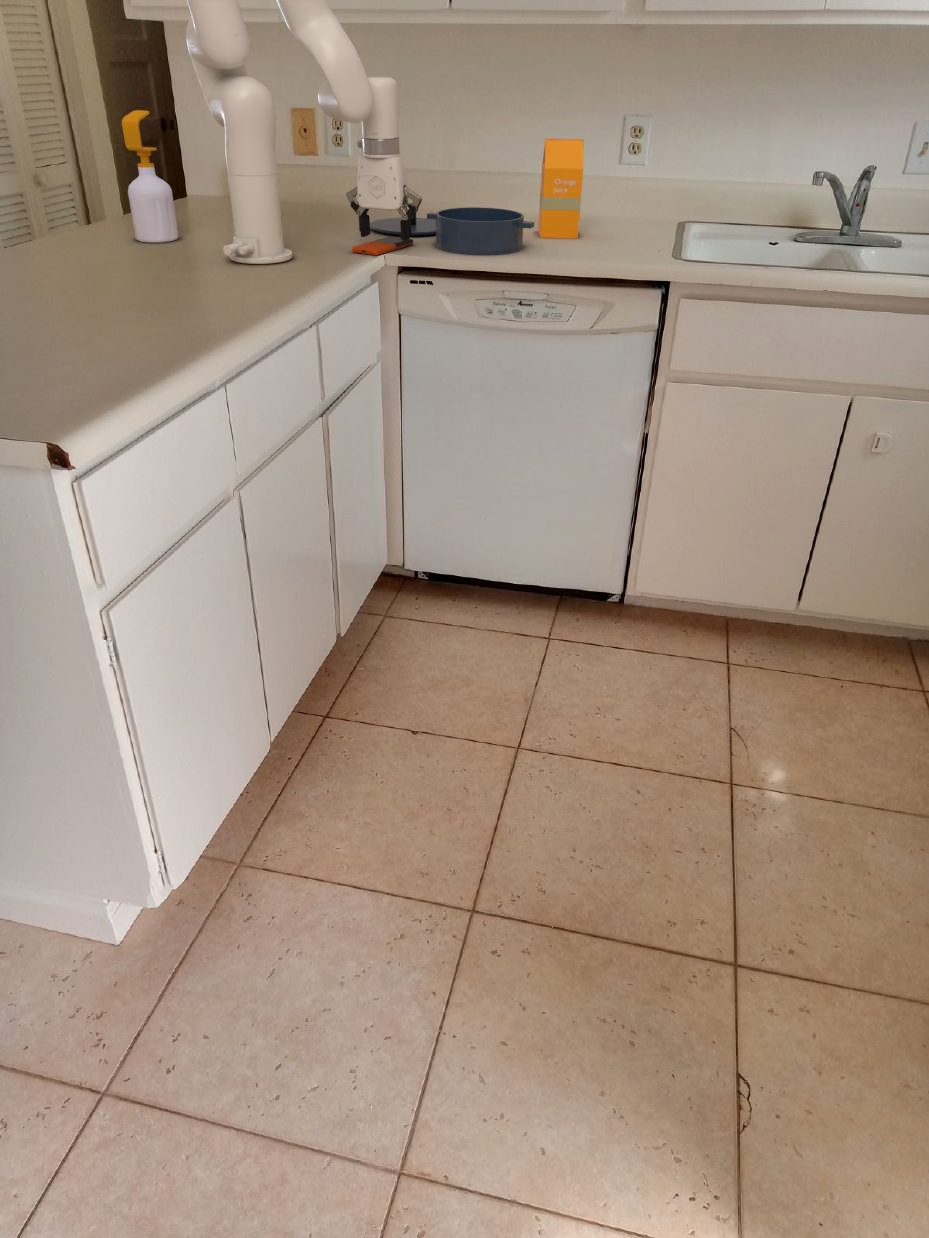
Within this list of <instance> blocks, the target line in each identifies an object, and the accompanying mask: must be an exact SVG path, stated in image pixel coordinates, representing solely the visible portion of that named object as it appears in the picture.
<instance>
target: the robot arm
mask: <svg viewBox="0 0 929 1238" xmlns="http://www.w3.org/2000/svg"><path fill="white" fill-rule="evenodd" d="M275 1H276V3H277V6H278V8H279V10H280V12H281V14H282V17H283V20H284V21H285V24H286V26H287V29H289V31H290V33H291V34H292V35H293V37H294V38H296V40H297V41H298V42H299V43H300V44H301V45H302V46H304V47H305V48H306V49H307V51H309V53H310V54H311V55H312V57H314V59H315V61H316V62H317V63H318V65H319V66H320V69H321V70H322V73H323V74H324V76H325V78H326V79H325V80H324V81H323V82H322V83H321V85H320V86H319V88H318V92H317V101H318V104H319V107H320V109H321V111H322V112H323V113H324V114H325V115H326V116H327V117H328V118H330V119H332V120H336V121H341V122H346V123H350V124H359V123H361V140H357V147H358V149H361V150H362V151H361V152H362V154H360V155H359V156H358V164H357V175H356V176H357V181H356V186H355V187H354V188H352V189H351V190H348V191H347V192H346V194H345V196H346V198H347V200H348V202H349V203H350V207H351V209H352V210H353V211H354V213H355V216H356V217H357V218H358V230H359V232H360V237H361V238H365V237H367V236H370V235H371V228H370V223H371V217H370V215H369V214H368V212H369V210H376V211H377V210H379V211H397V212H398V214H399V215H400V218H403V220H401V221H400V226H401V236H400V238H401V240H403V241H405V240H407V239H411V237H412V236H411V218H413V216H414V215H415V213H416V214H417V213H418V211H419V207H420V206H421V204H422V201H423V197H422V196H421V195H419V194H418V193H416V192H415V191H413V190H412V189H411V188H409V184H408V176H407V171H406V170H407V168H406V165H405V160H404V156H403V155H402V154H401V144H400V139H401V138H400V116H399V88H398V82H397V81H396V79H394V78H393V77H390V76H389V77H388V76H368V75H367V72H366V70H365V68H364V64H363V63H362V60H361V58H360V56H359V54H358V51H357V50H356V48H355V46H354V44H353V42H352V41H351V39H350V37H349V35H348V34H347V33H346V31H345V30H344V28H343V26H342V24H341V22H340V21H339V19H338V18H337V17H336V15H335V14H334V12H333V11H332V8H331V7H330V4H329V2H328V0H275ZM186 2H187V7H188V9H189V13H190V18H189V20H188V22H187V25H186V28H185V29H186V30H185V31H186V32H185V38H186V45H187V49H188V53H189V56H190V59H191V63H192V65H193V68H194V72H195V74H196V76H197V79H198V83H199V85H200V88H201V91H202V94H203V97H204V99H205V102H206V105H207V107H208V110H209V112H210V114H211V115H212V117H213V119H214V120H215V121H216V122H217V123H218V124H219V125H220V126H221V127H223V128H224V149H225V150H224V151H225V164H226V165H225V166H226V172H227V179H228V180H227V181H228V189H229V199H230V207H231V215H232V225H233V234H234V236H232V243H229V244H225V245H224V246H223V248H222V252H223V254H224V255H225V256H228V257H229V260H230V261H233V262H236V263H240V264H247V265H248V264H251V265H267V264H277V263H284V262H287V261H290V260H292V258H293V251H292V250H291V249H288V248H285V245H284V233H283V220H282V208H281V197H280V196H281V195H280V183H279V175H278V161H277V145H276V141H277V140H276V139H277V138H276V136H277V111H276V106H275V102H274V99H273V96H272V94H271V92H270V91H269V89H268V88H267V86H265V85H264V84H263V83H262V82H261V81H260V80H258V79H256V78H253V77H251V76H249V75H248V72H247V68H246V66H245V62H246V61H247V59H248V58H249V55H250V52H251V40H250V35H249V32H248V28H247V26H246V23H245V20H244V16H243V13H242V10H241V7H240V4H239V1H238V0H186ZM409 199H410V200H411V201H412V202H411V203H412V206H411V207H410V209H409V207H408V206H407V205H408V203H409Z"/></svg>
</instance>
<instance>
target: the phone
mask: <svg viewBox="0 0 929 1238" xmlns="http://www.w3.org/2000/svg"><path fill="white" fill-rule="evenodd" d="M413 244H414V239H412V238H410V239H407V240H405V241H403V240H401V236H400V237H398V236H393V235H392V236H391V235H390V236H386V237H382V238H378V239H374V240H372V241H368V242H365V243H361V244H358V245H353V246H352V248H351V250H352V253H354V254H355V253H356V254H363V255H369V256H380V255H383V254H387V253H389V252H392V251H396V250H399V249H402V248H406V247H410V246H412V245H413Z"/></svg>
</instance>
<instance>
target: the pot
mask: <svg viewBox="0 0 929 1238" xmlns="http://www.w3.org/2000/svg"><path fill="white" fill-rule="evenodd" d="M426 218H427V219H436V235H435V247H436V248H438V249H439V250H441V251H444V252H447V253H448V252H449V253H453V254H461V255H470V256H471V255H472V256H474V255H475V256H496V255H506V254H512V253H516V252H519V251H521V250H522V248H523V244H524V243H523V242H524V229H532V228H535V221H530V220H525V215H524V214H523V213H522V212H519V211H516V210H511V209H506V208H505V209H504V208H497V207H482V206H481V207H478V206H477V207H473V206H472V207H470V206H469V207H467V206H465V207H454V208H453V207H452V208H445V209H440V210H438V211H436V212H433V211H432V212H428V213H426Z"/></svg>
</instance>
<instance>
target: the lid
mask: <svg viewBox="0 0 929 1238" xmlns="http://www.w3.org/2000/svg"><path fill="white" fill-rule="evenodd" d="M412 203H413V202H408V205H407V206H408V207H409V209H410V207H411V206H412ZM401 220H403V218H402V217H388V218H383V219H376V220H373V221H370V230H373V231H375V232H379V233H381V234H384V235H385V234H386V235H390V236H391V235H392V236H400V237H401V226H400V221H401ZM424 236H436V219H427V217H417V212H416V213H415V215H414V216H413V218H411V236H410V237H424Z"/></svg>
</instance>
